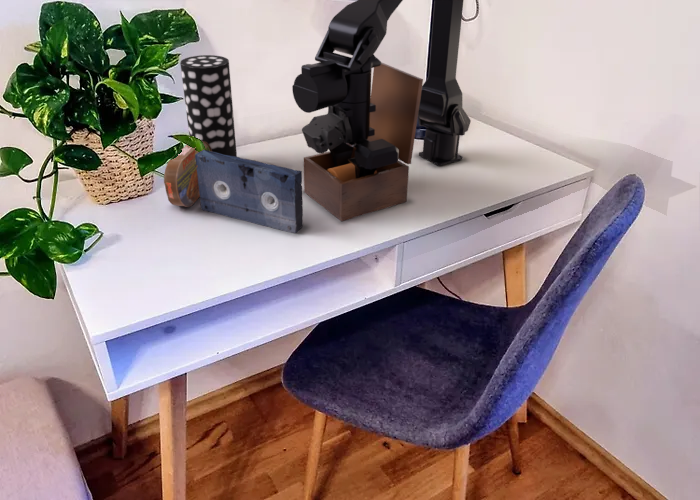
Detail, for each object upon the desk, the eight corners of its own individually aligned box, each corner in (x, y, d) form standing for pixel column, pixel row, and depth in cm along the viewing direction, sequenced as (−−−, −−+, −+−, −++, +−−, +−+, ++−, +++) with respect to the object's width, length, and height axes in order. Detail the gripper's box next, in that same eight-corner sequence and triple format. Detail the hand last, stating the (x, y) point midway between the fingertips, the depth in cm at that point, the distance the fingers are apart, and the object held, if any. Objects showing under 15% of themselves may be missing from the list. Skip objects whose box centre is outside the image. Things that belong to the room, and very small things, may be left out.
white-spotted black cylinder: (184, 171, 118) (170, 64, 107) (209, 155, 124) (198, 53, 114) (222, 179, 115) (211, 70, 104) (245, 162, 122) (237, 58, 111)
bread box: (341, 221, 102) (341, 184, 99) (304, 192, 111) (303, 157, 107) (406, 201, 108) (409, 166, 105) (366, 175, 117) (367, 142, 114)
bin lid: (419, 79, 98) (423, 79, 98) (374, 60, 106) (377, 60, 107) (407, 164, 105) (410, 163, 105) (365, 140, 113) (369, 140, 114)
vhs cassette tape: (304, 227, 100) (302, 170, 95) (294, 235, 98) (292, 177, 93) (210, 202, 107) (204, 148, 102) (200, 209, 105) (193, 154, 100)
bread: (361, 180, 112) (361, 154, 110) (378, 191, 109) (379, 165, 106) (323, 190, 109) (322, 164, 106) (339, 203, 105) (339, 175, 102)
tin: (183, 215, 103) (176, 168, 98) (165, 213, 103) (157, 167, 99) (217, 177, 115) (213, 134, 111) (201, 175, 116) (196, 133, 112)
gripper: (280, 89, 103) (284, 176, 111) (341, 124, 89) (340, 220, 98) (338, 79, 108) (337, 163, 116) (403, 111, 95) (397, 202, 103)
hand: (351, 185), depth 108 cm, fingers closed on bread, 5 cm apart
